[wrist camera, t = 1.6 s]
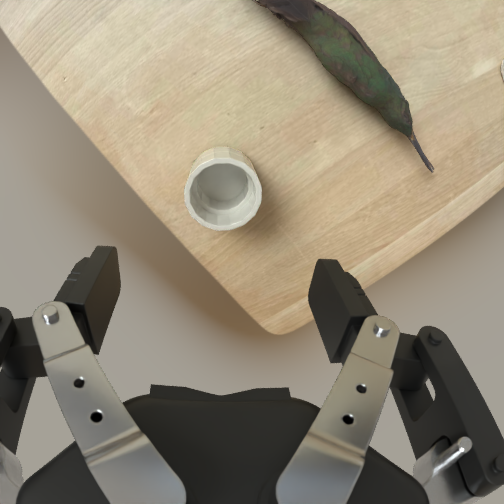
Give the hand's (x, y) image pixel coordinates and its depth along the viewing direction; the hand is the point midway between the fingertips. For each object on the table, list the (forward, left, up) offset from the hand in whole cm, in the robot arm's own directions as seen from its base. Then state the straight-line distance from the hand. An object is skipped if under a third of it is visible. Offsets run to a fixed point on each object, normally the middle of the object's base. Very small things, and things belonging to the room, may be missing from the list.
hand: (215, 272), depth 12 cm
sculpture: (+7, +14, -18) cm, 24 cm away
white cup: (+1, -1, -18) cm, 18 cm away
